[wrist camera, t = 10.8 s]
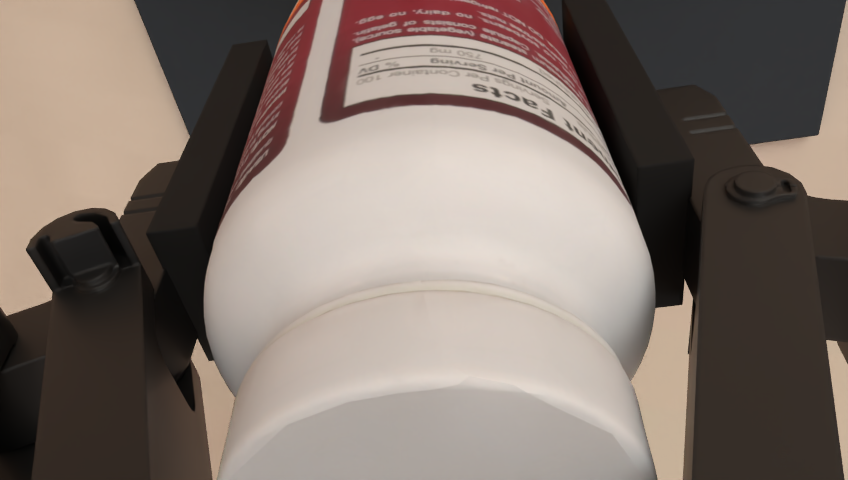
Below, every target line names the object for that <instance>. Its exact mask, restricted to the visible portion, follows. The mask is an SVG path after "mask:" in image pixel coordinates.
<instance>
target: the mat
mask: <svg viewBox="0 0 848 480" xmlns="http://www.w3.org/2000/svg"><path fill="white" fill-rule="evenodd" d="M134 1H135V3H136V5H137V8H138V10H139V13H140V15H141V18H142V20H143V23H144V25H145V27H146V30H147V32H148V35H149V37H150V40H151V42H152V45H153V47H154V49H155V52H156V54H157V57H158V59H159V62H160V64H161V67H162V69H163V71H164V74H165V76H166V79H167V81H168V84H169V86H170V89H171V91H172V93H173V96H174V98H175V101H176V103H177V106H178V108H179V111H180V113H181V115H182V118H183V120H184V123H185V125H186V128H187V130H188V133H189V135H190V136H191V134H192V132H193V129H194V127H195V125H196V123H197V121H198V119H199V116H200V114H201V112H202V110H203V108H204V106H205V103H206V101H207V99H208V97H209V95H210V93H211V90H212V88H213V86H214V84H215V82H216V80H217V77H218V75H219V73H220V71H221V69H222V67H223V64H224V62H225V60H226V58H227V56H228V54H229V51H230V49H231V47H232V45H234V44H241V43H247V42H253V41H260V40H266V39H267V41H268V45H269V48H270V51H271V54H272V58H273V59H274V55H275V52H276V49H277V45H278V42H279V39H280V36H281V34H282V31H283V29H284V26H285V25H286V23H287V21H288V19H289V16H290V14H291V12H292V11H293V9H294V7H295V5H296V3H297V2H298V0H134ZM544 2H545V4H546V5H547V7H548V9H549V10H550V12H551V14H552V15H553V17H554V20H555V22H556V24H557V26H558V28H559V31H560V34H561V36H562V39H563V23H562V0H544ZM606 2H607V3H608V5H609V7H610V9H611V11H612V12H613V14H614V16H615V18H616V20H617V21H618V23H619V25H620V27H621V28H622V30H623V32H624V34H625V36H626V37H627V39H628V41H629V43H630V44H631V46H632V48H633V50H634V52H635V53H636V55H637V57H638V59H639V61H640V62H641V64H642V66H643V68H644V69H645V71H646V73H647V75H648V77H649V78H650V80H651V82H652V84H653V86H654V87H655V89H656V90H659V89H666V88H673V87H680V86H687V85H694V84H695V85H696V86H698V87H700V88H702V89H703V90H705V91H707V92H709V93H711V94H712V95H714V96H716V98H717V99H718V100H719V102H720V103H721V105H722V106H723V108H724V109H725V111H726V114H727V115H729V116H730V118H731V119H732V121H733V122H734V124H735V128H738V130H739V131H740V132H741V134H742V135H743V137H744V138H745V140H746V141H747V143H748V144H757V143H764V142H771V141H778V140H786V139H793V138H800V137H808V136H815V135H818V134H819V130H820V125H821V120H822V115H823V111H824V106H825V101H826V96H827V91H828V86H829V81H830V77H831V72H832V67H833V62H834V57H835V52H836V47H837V42H838V38H839V33H840V28H841V23H842V18H843V13H844V8H845V4H846V0H606Z"/></svg>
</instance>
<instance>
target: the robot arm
mask: <svg viewBox="0 0 848 480" xmlns="http://www.w3.org/2000/svg"><path fill="white" fill-rule="evenodd" d="M562 23H563V41H564V44H565V46H566V48H567V51H568V53H569V56H570V58H571V61H572V63H573V66H574V68H575V70H576V73H577V75H578V77H579V80H580V83H581V85H582V88H583V90H584V92H585V95H586V97H587V99H588V102H589V104H590V107H591V109H592V112H593V114H594V116H595V118H596V121H597V123H598V126H599V129H600V131H601V133H602V135H603V138H604V140H605V142H606V145H607V148H608V150H609V153H610V155H611V158H612V160H613V163H614V165H615V167H616V169H617V171H618V174H619V176H620V179H621V181H622V184H623V186H624V188H625V190H626V192H627V195H628V197H629V200H630V202H631V205H632V207H633V210H634V212H635V214H636V217H637V221H638V224H639V227H640V229H641V232H642V235H643V238H644V240H645V243H646V246H647V248H648V251H649V254H650V258H651V263H652V267H653V272H654V281H655V308H658V307H667V306H675V305H682V303H683V291H684V279H685V281H686V283H687V285H688V288H689V290H690V292H691V294H692V297H693V305H692V315H691V326H690V336H689V346H688V354H689V370H688V390H687V409H686V429H685V448H684V468H683V480H844V473H843V466H842V458H841V450H840V443H839V435H838V428H837V420H836V412H835V405H834V397H833V389H832V382H831V374H830V366H829V359H828V351H827V344H826V340H832V341H837V343H838V346H839V348H840V350H841V352H842V354H843V356H844V358H845V360H846V362H847V364H848V201H844V200H830V199H822V198H815V197H811V196H807V193H806V191H805V189H804V187H803V185H802V183H801V182H800V181H798V180H797V179H796V178H794V177H793V176H792V175H790V174H789V173H786V172H783V171H781V170H778V169H775V168H773V167H766V166H763V164H762V163H761V161H760V160H759V159H758V157H757V156H756V154H755V153H754V151H753V150H752V148H751V147H750V145H749V144H748V143H747V141H746V140H745V138H744V137H743V135H742V134H741V132H740V131H739V130H738V128H735V124H734V122H733V121H732V119H731V118H730V116H729V115H727V114H726V111H725V109H724V108H723V106H722V105H721V103H720V102H719V100H718V99H717V98H716V96H714V95H712V94H711V93H709V92H707V91H705V90H703V89H702V88H700V87H698V86H696V85H695V84H694V85H687V86H680V87H673V88H666V89H659V90H656V89H655V87H654V86H653V84H652V82H651V80H650V78H649V77H648V75H647V73H646V71H645V69H644V68H643V66H642V64H641V62H640V61H639V59H638V57H637V55H636V53H635V52H634V50H633V48H632V46H631V44H630V43H629V41H628V39H627V37H626V36H625V34H624V32H623V30H622V28H621V27H620V25H619V23H618V21H617V20H616V18H615V16H614V14H613V12H612V11H611V9H610V7H609V5H608V3H607V2H606V0H562ZM272 62H273V58H272V54H271V51H270V48H269V45H268V41H267V39H266V40H260V41H253V42H247V43H241V44H234V45H232V47H231V49H230V51H229V54H228V56H227V58H226V60H225V62H224V64H223V67H222V69H221V71H220V73H219V75H218V77H217V80H216V82H215V84H214V86H213V88H212V90H211V93H210V95H209V97H208V99H207V101H206V103H205V106H204V108H203V110H202V112H201V114H200V116H199V119H198V121H197V123H196V125H195V127H194V129H193V132H192V134H191V136H190V138H189V140H188V142H187V145H186V147H185V149H184V151H183V153H182V155H181V158H180V160H179V161H173V162H166V163H159V164H157V165H156V166H155V167H154V168H153V169H152V170H151V171H150V172H148V173H147V174H146V175H145V176H144V177H143V178H142V179H141V180H140V181H139V183H138V185H137V187H136V189H135V191H134V192H133V194H132V196H131V201H129V202H128V204H127V206H126V208H125V210H124V215H122V216H121V218H120V219H118V217H117V216H116V214H115V213H114V212H112V211H110V210H108V209H104V208H89V209H84V210H80V211H75V212H72V213H70V214H67V215H65V216H62V217H60V218H57V219H56V220H54V221H53V222H51V223H50V224H48V225H46V226H45V227H43V228H42V229H41V230H40V231H39V232H38V233H37V234H36V235H35V236H34V237H33V238H32V239H31V240H30V242H29V244H28V246H27V248H26V251H27V253H28V254H29V256H30V257H31V259H32V260H33V262H34V264H35V265H36V267H37V268H38V270H39V271H40V273H41V275H42V276H43V278H44V279H45V281H46V282H47V284H48V286H49V287H50V289H51V290H52V292H53V294H52V300H51V301H48V302H46V303H43V304H41V305H38V306H35V307H32V308H29V309H26V310H23V311H20V312H17V313H14V314H11V315H8V316H6V315H5V313H4V312H3V310H2V309H1V308H0V480H212V471H211V463H210V455H209V447H208V439H207V431H206V423H205V414H204V406H203V398H202V390H201V382H200V377H199V374H198V372H197V370H196V368H195V366H194V364H193V362H192V360H191V356H192V353H193V349H194V346H195V343H196V340H197V338H198V340H199V342H200V344H201V346H202V348H203V350H204V352H205V354H206V356H207V358H208V360H209V361H213V360H214V358H213V355H212V351H211V348H210V345H209V342H208V338H207V335H206V326H205V321H204V285H205V278H206V271H207V267H208V263H209V259H210V256H211V252H212V249H213V243H214V240H215V236H216V233H217V230H218V227H219V223H220V220H221V218H222V216H223V213H224V210H225V206H226V203H227V200H228V197H229V194H230V191H231V188H232V185H233V183H234V180H235V177H236V172H237V169H238V166H239V163H240V160H241V157H242V154H243V151H244V148H245V145H246V142H247V139H248V135H249V132H250V130H251V127H252V124H253V121H254V118H255V115H256V111H257V108H258V105H259V102H260V99H261V96H262V93H263V90H264V86H265V84H266V80H267V77H268V73H269V70H270V68H271V65H272Z"/></svg>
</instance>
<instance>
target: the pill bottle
mask: <svg viewBox="0 0 848 480" xmlns="http://www.w3.org/2000/svg"><path fill="white" fill-rule="evenodd" d="M654 314H655V281H654V272H653V267H652V263H651V258H650V254H649V251H648V248H647V246H646V243H645V240H644V238H643V235H642V232H641V229H640V227H639V224H638V221H637V217H636V214H635V212H634V210H633V207H632V205H631V202H630V200H629V197H628V195H627V192H626V190H625V188H624V186H623V184H622V181H621V179H620V176H619V174H618V171H617V169H616V167H615V165H614V163H613V160H612V158H611V155H610V153H609V150H608V148H607V145H606V142H605V140H604V138H603V135H602V133H601V131H600V129H599V126H598V123H597V121H596V118H595V116H594V114H593V112H592V109H591V107H590V104H589V102H588V99H587V97H586V95H585V92H584V90H583V88H582V85H581V83H580V80H579V77H578V75H577V73H576V70H575V68H574V66H573V63H572V61H571V58H570V56H569V53H568V51H567V48H566V46H565V44H564V41H563V39H562V36H561V34H560V31H559V28H558V26H557V24H556V22H555V20H554V17H553V15H552V14H551V12H550V10H549V9H548V7H547V5H546V4H545V2H544V0H298V2H297V3H296V5H295V7H294V9H293V11H292V12H291V14H290V16H289V19H288V21H287V23H286V25H285V26H284V29H283V31H282V34H281V36H280V39H279V42H278V45H277V49H276V52H275V55H274V59H273V62H272V65H271V68H270V70H269V73H268V77H267V80H266V84H265V86H264V90H263V93H262V96H261V99H260V102H259V105H258V108H257V111H256V115H255V118H254V121H253V124H252V127H251V130H250V132H249V135H248V139H247V142H246V145H245V148H244V151H243V154H242V157H241V160H240V163H239V166H238V169H237V172H236V177H235V180H234V183H233V185H232V188H231V191H230V194H229V197H228V200H227V203H226V206H225V210H224V213H223V216H222V218H221V220H220V223H219V227H218V230H217V233H216V236H215V240H214V243H213V249H212V252H211V256H210V259H209V263H208V267H207V271H206V278H205V285H204V321H205V326H206V335H207V338H208V342H209V345H210V348H211V351H212V355H213V358H214V361H215V363H216V366H217V368H218V370H219V372H220V374H221V376H222V377H223V379H224V381H225V383H226V384H227V386H228V388H229V389H230V391H231V392H232V393H233V395H234V396H235V402H234V406H233V411H232V415H231V420H230V424H229V429H228V433H227V437H226V442H225V446H224V450H223V455H222V459H221V463H220V468H219V472H218V477H217V480H657V475H656V471H655V466H654V462H653V459H652V455H651V451H650V448H649V444H648V440H647V437H646V433H645V429H644V425H643V421H642V416H641V412H640V408H639V404H638V400H637V397H636V393H635V390H634V388H633V386H632V384H631V382H630V381H631V380H632V378H633V377H634V375H635V373H636V371H637V369H638V367H639V365H640V364H641V361H642V359H643V356H644V354H645V351H646V349H647V347H648V343H649V339H650V335H651V331H652V327H653V320H654Z"/></svg>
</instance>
